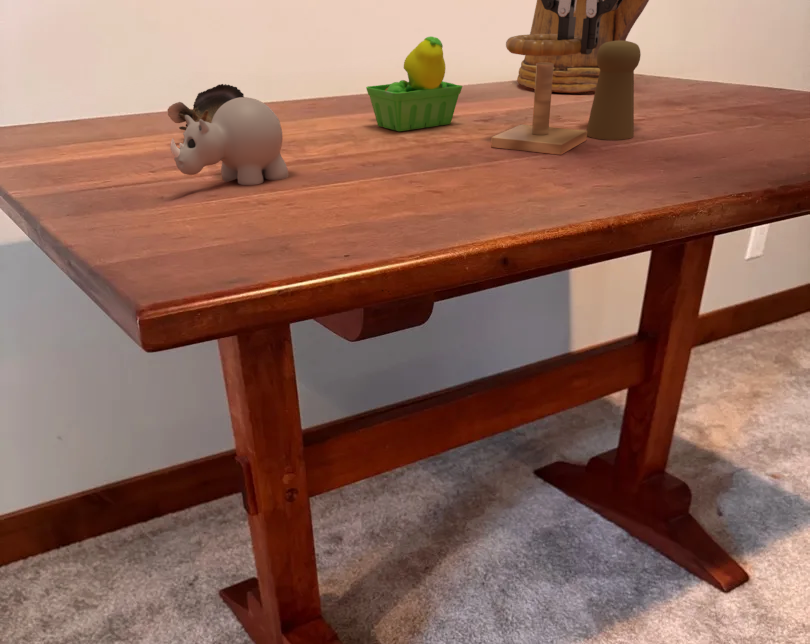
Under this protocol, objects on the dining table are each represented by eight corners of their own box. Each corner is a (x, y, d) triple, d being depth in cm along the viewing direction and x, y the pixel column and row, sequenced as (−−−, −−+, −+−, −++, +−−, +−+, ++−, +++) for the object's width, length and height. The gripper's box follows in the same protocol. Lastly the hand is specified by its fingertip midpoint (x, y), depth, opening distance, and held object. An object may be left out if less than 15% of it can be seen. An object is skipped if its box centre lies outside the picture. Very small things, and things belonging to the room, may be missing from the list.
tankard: (555, 75, 149) (568, -81, 136) (672, 88, 135) (698, -86, 122) (496, 87, 138) (504, -83, 125) (617, 102, 124) (639, -88, 111)
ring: (596, 49, 95) (598, 34, 94) (569, 58, 88) (571, 42, 87) (524, 46, 99) (525, 32, 98) (493, 54, 92) (493, 39, 91)
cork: (585, 139, 100) (595, 43, 95) (585, 129, 105) (594, 38, 100) (635, 140, 99) (647, 43, 94) (632, 130, 105) (644, 38, 99)
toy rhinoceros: (162, 191, 81) (147, 103, 77) (264, 172, 88) (256, 89, 83) (194, 206, 76) (180, 113, 72) (300, 184, 83) (293, 97, 78)
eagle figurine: (229, 139, 97) (261, 112, 103) (189, 88, 94) (224, 63, 101) (191, 168, 101) (224, 141, 108) (152, 120, 99) (188, 95, 105)
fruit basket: (430, 116, 115) (430, 30, 109) (470, 125, 109) (472, 34, 103) (364, 126, 109) (361, 35, 104) (402, 136, 103) (401, 41, 97)
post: (586, 140, 100) (594, 60, 95) (561, 154, 93) (568, 70, 88) (519, 133, 104) (524, 57, 99) (490, 147, 97) (494, 65, 92)
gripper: (517, -128, 83) (508, 53, 92) (649, -135, 77) (625, 60, 86) (544, -124, 89) (533, 47, 97) (669, -130, 83) (645, 52, 91)
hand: (576, 52), depth 91 cm, fingers closed on ring, 1 cm apart
